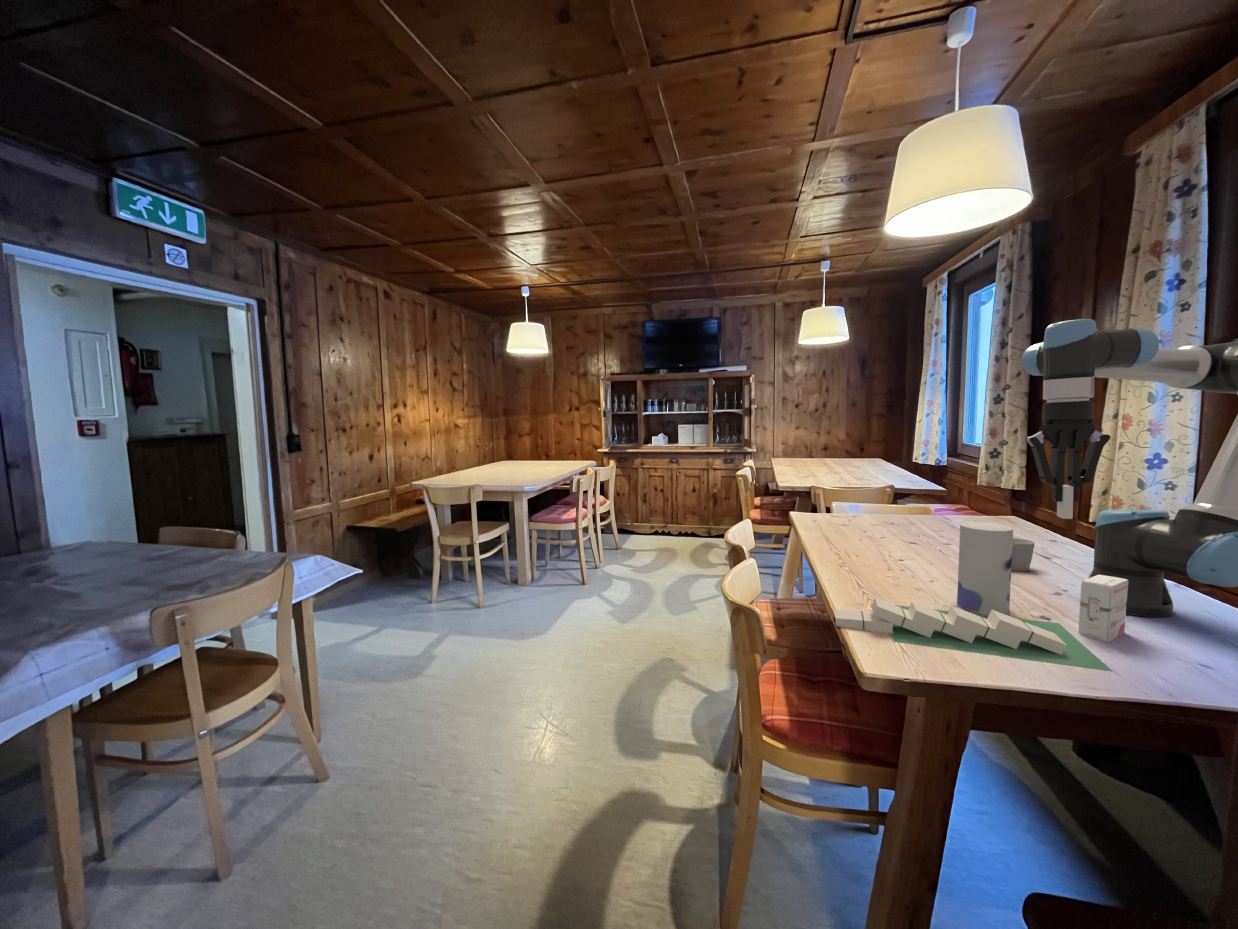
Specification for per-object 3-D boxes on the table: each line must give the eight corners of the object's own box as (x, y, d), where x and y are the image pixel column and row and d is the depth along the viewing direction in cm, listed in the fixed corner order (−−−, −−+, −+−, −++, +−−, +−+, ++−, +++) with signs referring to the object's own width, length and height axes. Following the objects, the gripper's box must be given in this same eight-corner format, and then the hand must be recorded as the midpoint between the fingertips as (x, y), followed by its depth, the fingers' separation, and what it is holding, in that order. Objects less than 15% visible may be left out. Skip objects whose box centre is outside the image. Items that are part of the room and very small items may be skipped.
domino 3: (969, 623, 103) (912, 601, 107) (976, 633, 98) (916, 610, 102) (964, 632, 103) (908, 610, 107) (971, 643, 98) (912, 620, 102)
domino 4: (1011, 628, 100) (951, 605, 104) (1021, 639, 95) (957, 615, 99) (1006, 637, 101) (947, 615, 104) (1016, 649, 95) (953, 625, 99)
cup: (1038, 570, 145) (1040, 541, 144) (1020, 575, 140) (1021, 546, 139) (1009, 563, 151) (1010, 536, 151) (990, 568, 147) (991, 540, 146)
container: (1018, 617, 111) (1022, 530, 109) (968, 614, 113) (971, 529, 112) (995, 601, 121) (999, 521, 119) (949, 599, 123) (953, 520, 121)
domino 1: (889, 613, 109) (835, 608, 113) (892, 622, 103) (835, 618, 108) (889, 623, 109) (835, 618, 113) (892, 633, 104) (835, 628, 108)
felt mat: (1058, 625, 107) (1058, 623, 107) (1112, 673, 87) (1112, 671, 87) (882, 605, 120) (882, 603, 120) (893, 643, 100) (893, 641, 100)
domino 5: (1054, 633, 97) (991, 609, 101) (1067, 645, 92) (1000, 619, 96) (1049, 643, 98) (986, 618, 102) (1061, 655, 93) (995, 629, 96)
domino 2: (929, 618, 106) (875, 597, 109) (934, 628, 101) (877, 606, 104) (925, 627, 106) (871, 606, 110) (930, 638, 101) (873, 615, 105)
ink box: (1095, 626, 106) (1098, 572, 105) (1126, 634, 102) (1130, 579, 101) (1076, 635, 102) (1080, 579, 101) (1108, 644, 98) (1112, 586, 97)
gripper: (1098, 398, 99) (1095, 514, 101) (1019, 402, 103) (1017, 513, 105) (1121, 397, 92) (1117, 522, 94) (1035, 402, 96) (1033, 520, 98)
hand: (1064, 517), depth 100 cm, fingers closed
